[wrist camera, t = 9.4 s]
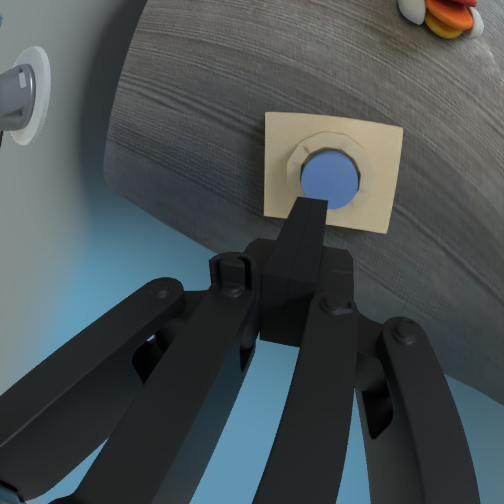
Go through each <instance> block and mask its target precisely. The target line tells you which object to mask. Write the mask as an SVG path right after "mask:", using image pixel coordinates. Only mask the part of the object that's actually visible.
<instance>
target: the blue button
mask: <svg viewBox="0 0 504 504" xmlns="http://www.w3.org/2000/svg"><path fill="white" fill-rule="evenodd" d="M301 185H302V189H303V192H304V194H305V195H306V197H307V198H314V199H322V200H328V208H327V209H338V208H341V207H344V206H345V205H347V204H348V203H349V202H350V201H351V200H352V199H353V198H354V196H355V194H356V192H357V188H358V178H357V174H356V170H355V167H354V165H353V163H352V162H351V161H350V159H349V158H348V157H346V156H345V155H343V154H342V153H340V152H337V151H330V150H328V151H322V152H319V153H317V154H315V155H314V156H313V157H312V158H311V159H310V160H309V161H308V163H307V164H306V166H305V167H304V169H303V172H302V175H301Z"/></svg>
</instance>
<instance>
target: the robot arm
mask: <svg viewBox="0 0 504 504" xmlns="http://www.w3.org/2000/svg"><path fill="white" fill-rule="evenodd" d="M1 23H2V15H1V14H0V26H1ZM35 96H36V80H35V74H34V71H33V68H32V67H31V65H29V64H21V65H18V66H16V67H14V68H12V69H10V70H8V71H6V72H5V73H3V74H1V75H0V130H1V132H0V147H1V142H2V135H3V131H4V130H5V131H17V130H20V129H23V128H25V127H26V126H27V125H28V123H29V121H30V119H31V116H32V113H33V109H34V104H35ZM327 208H328V200H322V199H314V198H306V197H298V196H297V198H296V200H295V203H294V205H293V207H292V209H291V211H290V213H289V215H288V217H287V219H286V222H285V224H284V226H283V228H282V230H281V232H280V234H279V236H278V238H277V240H269V239H262V238H257V239H256V240H254V241H252V242H251V243H249V245H248V246H247V248H246V249H245V252H243V253H240V252H226V253H221V254H218V255H216V256H214V257H213V258H211V259H210V260H209V267H210V276H211V286H210V287H209V289H208V290H203V291H184V289H183V286H182V283H181V282H179V281H178V280H177V279H174V278H170V277H162V278H158V279H154V280H152V281H150V282H148V283H146V284H145V285H144V286H142V287H141V288H140V289H138V290H137V291H135V292H134V293H133V294H131V295H130V296H128V297H127V298H125V299H124V300H123V301H122V302H120V303H119V304H117V305H116V306H114V307H113V308H112V309H110V310H109V311H108V312H106V313H105V314H104V315H102V316H101V317H100V318H98V319H97V320H96V321H94V322H93V323H92V324H90V325H89V326H88V327H86V328H85V329H84V330H82V331H81V332H80V333H78V334H77V335H76V336H74V337H73V338H72V339H70V340H69V341H68V342H66V343H65V344H64V345H63V346H61V347H60V348H59V349H58V350H56V351H55V352H54V353H52V354H51V355H50V356H49V357H47V358H46V359H45V360H43V361H42V362H41V363H40V364H39V365H37V366H36V367H35V368H34V369H33V370H31V371H30V372H29V373H27V374H26V375H25V376H24V377H22V378H21V379H20V380H19V381H18V382H16V383H15V384H14V385H13V386H12V387H10V388H9V389H8V390H7V391H6V392H4V393H3V394H2V395H1V396H0V504H26V502H25V501H28V500H31V499H34V498H37V497H38V496H41V495H43V494H44V493H46V492H47V491H49V490H50V489H51V488H53V487H54V486H55V485H56V484H57V483H59V482H60V481H61V480H62V479H63V478H64V477H65V476H66V475H68V474H69V473H70V472H71V471H72V470H73V469H75V468H76V467H77V466H78V465H79V464H80V463H81V462H82V461H83V460H85V459H86V458H87V457H88V456H89V455H90V454H91V453H92V452H93V451H94V450H95V449H97V448H98V447H99V446H100V445H101V444H102V443H103V442H104V441H105V440H106V439H107V438H109V439H108V440H107V442H106V443H105V445H104V446H103V448H102V450H101V451H100V453H99V454H98V456H97V457H96V459H95V460H94V462H93V464H92V465H91V467H90V469H89V470H88V472H87V473H86V475H85V477H84V478H83V480H82V481H81V483H80V484H79V486H78V488H77V489H76V490H75V491H74V493H72V494H71V495H69V496H66V497H62V498H58V499H55V500H53V501H52V502H50V503H48V504H189V503H190V501H191V499H192V497H193V495H194V493H195V491H196V489H197V487H198V484H199V482H200V480H201V478H202V476H203V474H204V472H205V469H206V467H207V465H208V463H209V461H210V458H211V456H212V454H213V452H214V449H215V447H216V445H217V443H218V440H219V438H220V436H221V434H222V431H223V429H224V426H225V424H226V422H227V419H228V417H229V415H230V412H231V410H232V408H233V405H234V403H235V401H236V398H237V396H238V393H239V391H240V388H241V386H242V383H243V381H244V378H245V376H246V373H247V371H248V368H249V366H250V363H251V361H252V358H253V356H254V353H255V347H256V338H257V336H258V333H259V331H260V340H264V341H268V342H274V343H278V344H283V345H289V346H294V347H300V350H299V354H298V358H297V362H296V366H295V370H294V374H293V378H292V381H291V385H290V389H289V392H288V396H287V399H286V403H285V407H284V410H283V413H282V417H281V420H280V424H279V427H278V430H277V433H276V437H275V439H274V443H273V446H272V449H271V452H270V455H269V458H268V461H267V463H266V466H265V469H264V472H263V475H262V478H261V480H260V483H259V486H258V489H257V491H256V494H255V496H254V499H253V502H252V504H336V500H337V496H338V491H339V487H340V482H341V478H342V472H343V468H344V462H345V457H346V451H347V444H348V438H349V431H350V423H351V416H352V407H353V397H354V388H355V392H356V398H357V403H358V409H359V415H360V421H361V427H362V433H363V440H364V447H365V454H366V461H367V470H368V479H369V489H370V500H371V504H480V497H479V492H478V486H477V480H476V475H475V471H474V467H473V462H472V458H471V454H470V450H469V446H468V443H467V439H466V436H465V432H464V429H463V426H462V423H461V419H460V416H459V413H458V411H457V408H456V405H455V402H454V400H453V397H452V394H451V391H450V389H449V386H448V383H447V381H446V379H445V376H444V374H443V371H442V369H441V366H440V364H439V362H438V359H437V357H436V355H435V353H434V350H433V348H432V346H431V344H430V342H429V340H428V337H427V335H426V333H425V331H424V330H423V329H422V327H421V326H420V325H419V324H418V323H416V322H415V321H413V320H411V319H408V318H406V317H393V318H390V319H388V320H387V321H386V322H384V324H383V325H382V324H380V323H377V322H375V321H372V320H370V319H368V318H366V317H365V316H364V315H362V314H361V313H360V312H359V311H358V309H357V306H356V303H355V302H354V280H353V257H352V256H351V254H350V253H349V252H348V250H344V249H337V248H331V247H324V246H323V241H324V233H325V225H326V217H327ZM152 335H153V336H154V338H153V339H151V340H150V341H147V339H149V338H150V337H151V336H152Z"/></svg>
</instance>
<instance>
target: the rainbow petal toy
mask: <svg viewBox="0 0 504 504" xmlns="http://www.w3.org/2000/svg"><path fill="white" fill-rule="evenodd" d="M398 4H399V9H400V11H401V12H402V14H403V15H404V16H405V17H406V18H407V19H409V20H410V21H412V22H414V23H416V24H422V23H423V21H425V22H426V24H427V25H428V26H429V28H430V29H431V30H432V31H433V32H435V33H436V34H437V35H439V36H441V37H443V38H455V37H458V36H459V35H460V34H462V36H464V37H465V38H470V39H474V38H477V37H479V36H480V35H481V34H482V32H483V27H484V26H483V21H482V18H481V16H480V15H479V13H478V12H477V11H476V10H475V9H474V8H473V7H475V6H476V1H475V0H398Z"/></svg>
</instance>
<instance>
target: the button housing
mask: <svg viewBox="0 0 504 504" xmlns="http://www.w3.org/2000/svg"><path fill="white" fill-rule="evenodd" d="M402 137H403V128H401V127H398V126H393V125H388V124H383V123H377V122H372V121H365V120H359V119H352V118H345V117H337V116H328V115H318V114H306V113H291V112H265V186H264V216H270V217H278V218H285V219H287V217H288V215H289V213H290V211H291V209H292V207H293V205H294V203H295V200H296V198H297V196H298V197H306V195H305V194H304V192H303V189H302V185H301V175H302V172H303V169H304V167H305V166H306V164H307V163H308V161H309V160H310V159H311V158H312V157H313V156H314V155H315V154H317V153H319V152H322V151H328V150H330V151H337V152H340V153H342V154H343V155H345V156H346V157H348V158H349V159H350V161H351V162H352V163H353V165H354V167H355V170H356V174H357V178H358V188H357V192H356V194H355V196H354V198H353V199H352V200H351V201H350V202H349V203H348V204H347V205H345V206H344V207H341V208H338V209H327V217H326V224H328V225H334V226H341V227H347V228H354V229H360V230H366V231H372V232H378V233H384V234H386V233H387V229H388V225H389V220H390V215H391V210H392V205H393V200H394V194H395V188H396V182H397V176H398V169H399V162H400V155H401V146H402ZM306 198H307V197H306Z"/></svg>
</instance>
